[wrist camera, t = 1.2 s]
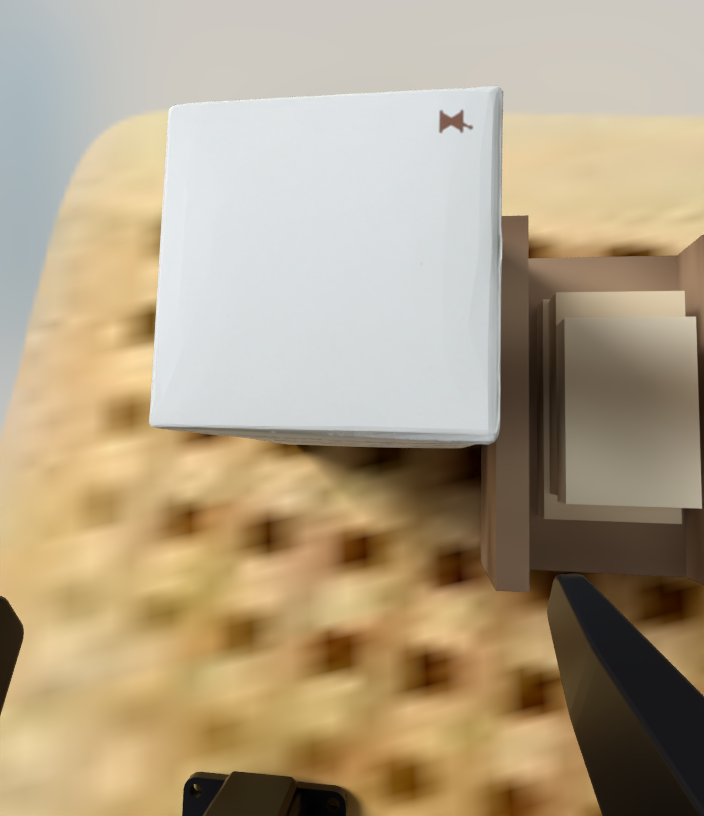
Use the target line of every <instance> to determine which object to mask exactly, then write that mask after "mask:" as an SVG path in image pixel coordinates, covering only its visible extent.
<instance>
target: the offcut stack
mask: <svg viewBox="0 0 704 816" xmlns="http://www.w3.org/2000/svg"><path fill="white" fill-rule="evenodd" d="M537 471H538V516H539V517H541V518H543V519H560V520H587V521H613V522H640V523H667V524H682V509H681V508H700V509H702V491H701V459H700V427H699V395H698V363H697V331H696V317H685V291H628V292H556V293H555V294H554V296H553V297H552V298H551V299H543V300H542V302H541V303H540V304H539V306H538V307H537Z"/></svg>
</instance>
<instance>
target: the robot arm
mask: <svg viewBox="0 0 704 816" xmlns="http://www.w3.org/2000/svg"><path fill="white" fill-rule="evenodd" d="M547 612H548V621H549V625H550V630H551V635H552V639H553V644H554V648H555V653H556V658H557V662H558V667H559V671H560V676H561V680H562V685H563V690H564V694H565V699H566V703H567V707H568V711H569V715H570V719H571V722H572V725H573V729H574V732H575V735H576V738H577V741H578V744H579V747H580V750H581V753H582V756H583V759H584V762H585V765H586V768H587V771H588V774H589V777H590V780H591V783H592V786H593V789H594V792H595V795H596V798H597V801H598V804H599V807H600V810H601V813H602V816H704V696H703V695H702V694H701V693H700V692H699V691H698V690H697V689H696V688H695V687H694V686H693V685H692V684H691V683H690V682H689V681H688V680H687V679H686V678H685V677H684V676H683V675H682V674H681V673H680V672H679V671H678V670H677V669H676V668H675V667H674V666H673V665H672V664H671V663H670V662H669V661H668V660H667V659H666V658H665V657H664V656H663V655H662V654H661V653H660V652H659V651H658V650H657V649H656V648H655V647H654V646H653V645H652V644H651V643H650V642H649V641H648V640H647V639H646V638H645V637H644V636H643V635H642V634H641V633H640V632H639V631H638V630H637V629H636V628H635V627H634V626H633V625H632V624H631V623H630V622H629V621H628V619H627V618H626V617H625V616H624V615H623V614H622V613H621V612H620V611H619V610H618V609H617V608H616V607H615V606H614V605H613V604H612V603H611V602H610V601H609V600H608V599H607V598H606V597H605V596H604V595H603V594H602V593H601V592H600V591H599V590H598V589H597V588H596V587H595V586H594V585H593V584H592V583H591V582H590V581H589V580H588V579H587V578H586V577H584V576H583V575H581V574H559V575H557V576H556V577H555V578H554V580H553V585H552V589H551V593H550V598H549V602H548V609H547ZM23 635H24V630H23V625H22V623H21V621H20V620H19V618H18V616H17V615H16V613H15V612H14V610H13V608H12V607H11V605H10V604H9V602H8V601H7V599H6V598H4V597H2V596H0V715H1V712H2V708H3V705H4V702H5V698H6V695H7V692H8V688H9V685H10V681H11V678H12V675H13V671H14V668H15V665H16V661H17V658H18V655H19V651H20V648H21V644H22V641H23ZM194 784H198V785H200V787H201V788H202V792H198V791H196V790H195V788H194ZM330 798H335V799H337V800H338V802H339V805H338V806H333V805H331V804H330V803H329V799H330ZM182 816H347V795H346V793H345V791H344V790H343V789H342V788H340V787H338V786H335V785H325V784H315V783H305V782H296V781H295V780H294V779H293V778H292V777H286V776H276V775H266V774H256V773H246V772H236V771H235V772H232V773H231V774H230V775H226V774H216V773H206V772H196V773H194V774H192V775H191V777H190V778H189V779H188V781H187V782H186V784H185V786H184V793H183V813H182Z"/></svg>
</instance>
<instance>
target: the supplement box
mask: <svg viewBox="0 0 704 816" xmlns="http://www.w3.org/2000/svg"><path fill="white" fill-rule="evenodd" d="M502 119H503V91H502V89H501V88H500V87H498V86H488V87H475V88H462V89H434V90H414V91H396V92H379V93H363V94H362V93H360V94H340V95H326V96H306V97H286V98H270V99H253V100H231V101H213V102H199V103H189V104H181V105H174V106H172V107H171V108H170V109H169V114H168V127H167V148H166V162H165V178H164V194H163V209H162V225H161V242H160V258H159V275H158V292H157V308H156V324H155V341H154V357H153V373H152V390H151V406H150V417H149V422H150V425H151V426H152V427H156V428H161V429H168V430H176V431H188V432H196V433H204V434H213V435H224V436H235V437H244V438H251V439H257V440H264V441H271V442H277V443H283V444H293V445H324V446H350V447H387V448H464V447H468V446H471V445H474V444H487V445H489V444H491V443H493V442H495V441H496V439H497V438H498V435H499V431H500V378H501V273H502V246H503V239H502V228H501V208H502Z"/></svg>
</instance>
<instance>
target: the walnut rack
mask: <svg viewBox="0 0 704 816" xmlns="http://www.w3.org/2000/svg"><path fill="white" fill-rule="evenodd" d="M501 228H502V239H503V246H502V273H501V378H500V431H499V435H498V438H497V439H496V441H495V442H493V443H491V444H489V445H487V444H481V564H482V566H483V568H484V570H485V571H486V573H487V575H488V577H489V579H490V580H491V582H492V584H493V586H494V588H495V590H496V591H512V592H530V589H529V570H547V571H567V572H588V573H608V574H629V575H649V576H670V577H687V578H689V579H691V580H694V581H696V582H698V583H701V584H703V585H704V235H702V236H700V237H699V238H698V239H697V240H696V241H694V242H693V243H692V244H691V245H690V246H688V247H687V248H686V249H685V250H684V251H682V252H681V253H680V254H679V255H677V256H634V257H583V258H533V259H528V216H501ZM628 291H685V317H696V331H697V363H698V395H699V427H700V459H701V491H702V509H700V508H681V509H682V524H667V523H640V522H613V521H587V520H560V519H543V518H541V517H539V516H538V471H537V307H538V306H539V304H540V303H541V302H542V300H543V299H551V298H552V297H553V296H554V294H555V293H556V292H628Z"/></svg>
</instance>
